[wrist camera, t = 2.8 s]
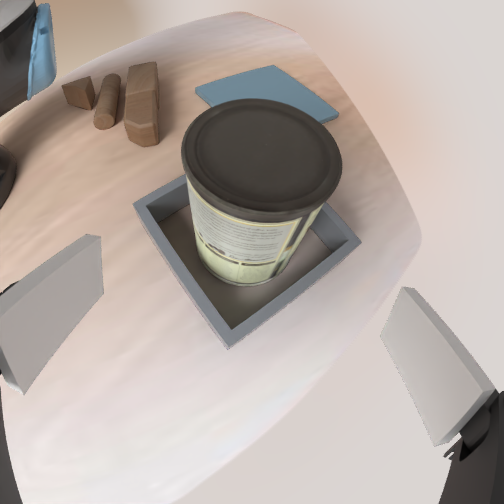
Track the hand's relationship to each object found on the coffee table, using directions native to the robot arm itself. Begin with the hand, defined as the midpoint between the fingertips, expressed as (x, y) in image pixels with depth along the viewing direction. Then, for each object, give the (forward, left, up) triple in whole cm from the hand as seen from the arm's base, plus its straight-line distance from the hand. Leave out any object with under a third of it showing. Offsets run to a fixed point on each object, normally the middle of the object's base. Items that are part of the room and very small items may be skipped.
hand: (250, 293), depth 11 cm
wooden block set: (-36, +2, -17) cm, 40 cm away
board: (-24, +24, -16) cm, 37 cm away
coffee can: (-7, +7, -16) cm, 19 cm away
